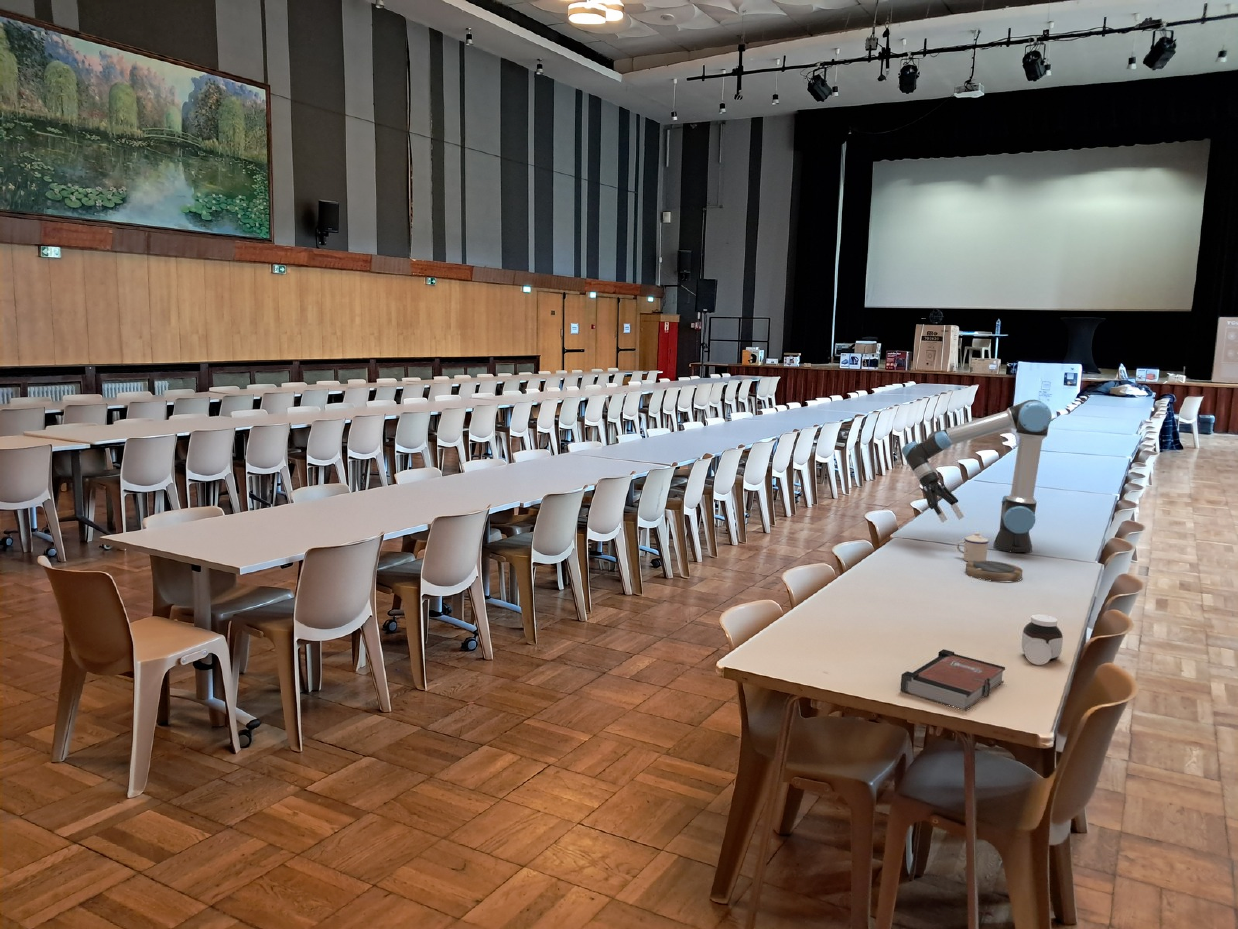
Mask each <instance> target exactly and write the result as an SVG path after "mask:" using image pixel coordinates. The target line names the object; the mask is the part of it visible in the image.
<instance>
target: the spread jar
mask: <svg viewBox="0 0 1238 929" xmlns="http://www.w3.org/2000/svg"><path fill="white" fill-rule="evenodd" d="M1058 621H1059V620H1058V619H1057V618H1056V617H1054V616H1050V615H1047V614H1033V615H1031V616H1030V622H1029V623H1027V624H1026V625H1025V626H1024V628H1023V630H1022V633H1021V649H1022V651H1023V653H1024V655H1025V656H1024V657H1025V658H1026V659H1027V660H1028V661H1029V662H1030V663H1032V664H1033V665H1036V666H1037V665H1038V666H1041V665H1042V666H1043V665H1044V664H1047V663H1048V661H1050V662H1053V661H1055V660H1057V659H1059V657H1060V656H1061V655H1062V651H1063V650H1062V649H1063V643H1064V642H1063V640H1064V639H1063V636H1064V635H1063V632H1062V630H1061V629H1060V628H1059V627H1058Z"/></svg>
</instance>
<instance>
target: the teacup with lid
mask: <svg viewBox="0 0 1238 929" xmlns="http://www.w3.org/2000/svg"><path fill="white" fill-rule="evenodd" d="M960 544H964V547H963V548H964V549H963V551H962V550H961V549H960ZM988 545H989V539H988V538H986V537H984V536H983V535H981V534H980V532H978V531H976V532H974V534H971V535H969V536H968V535H967V536H965V537H964V540H960V541H957V544H956V549H957V552H959V553H960V554H963V560H964V561H965V562H967V561H968V562H971V561H987V557H988V556H987V555H988ZM968 562H967V563H968Z"/></svg>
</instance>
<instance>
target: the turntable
mask: <svg viewBox="0 0 1238 929" xmlns="http://www.w3.org/2000/svg"><path fill="white" fill-rule="evenodd" d="M1023 571H1024V570H1023V569H1022V568H1021V567H1019V566H1018V565H1014V564H1010V563H1006V562H1000V561H996V560H995V561H993V560H986V561H971V562H967V563H966V564H965V571H964V572H965V574H966V575H968V576H969V575H970V576H969V577H971V576H972V578H975V579H977V578H981V579H985V580H984V581H986V580H991V581H990V582H993V581H1017V582H1019V581H1018V580H1020V579H1021V578H1022V579H1023V573H1024V572H1023ZM981 579H980V580H981ZM1022 579H1021V580H1022ZM1021 580H1020V581H1021Z"/></svg>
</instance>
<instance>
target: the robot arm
mask: <svg viewBox="0 0 1238 929" xmlns="http://www.w3.org/2000/svg"><path fill="white" fill-rule="evenodd" d="M1052 418H1053V417H1052V411H1051V409H1050V407H1049V406H1048V405H1047V404H1046V403H1044V402H1042V401H1040V400H1038V399H1028V400H1025V401H1022V402H1020V403H1018V404H1016V405H1013V406H1010V407H1008V408H1007V409H1006V410H1005V411H1001V412H999V413H994V414H991V415H988V416H985V417H981V418H977V419H973V420H971V421H967V422H964V423H961V424H957V425H954V426H951V427H948V428H945V429H941V430H935V431H932V432H930V433H929V434H928V436H927V438H926V439H924V440H923V441H922V442H920V443H918V442H917V441H911V442H909V443H906V445H904V446H903V447H902V449H901V453H902V455H903V457H904V459H905V460H906V462H907V464H908V466H909V467H910V468H911V470H912V472H913V473H914V475H915V477H916V478H917V480H919V481H918V482H919V483H920V485H921V487H922V491H923V493H924V496H925V499H926V502H927V505H928V508H930V510H933V511H935V513H936V515H937V516H938V518H939V520H940V522H941V523H944V522H947V520H948V519H949V518H948V516H947V515H946V513H945V511H944V510H943V508H942V506H941V505H939V502H938V500H939V499H938V497H941V498H942V499H943V500H944V501H945V502H946V503H948V504H949V505H950V508H951V510H952V511H953V513H954V514H955V516H956V517H957V519H958V520H961V519H963V518H964V517H965V514H964V512H963V511H962V510H961V508H960V506H959V505H958V503H959V499H958V498H957V497H956V496H955V495H954V494H953V493H952V491H951V490H949V488H947V486H946V485H945V483H941V484H940V483H939V481H940V476H938V474H937V472H935V469H934V467H933V466H932V464H931V463H930V461H929V459H931V458H933V457H934V456H936V455H938V454H940V453H941V452H942V451H945V450H947V449H948V448H950V447H952V446H953V445H958V444H960V443H961V444H962V443H964V442H967V441H971V440H975V439H978V438H979V439H980V438H982V437H984V436H988V435H992V434H995V433H999V432H1003V431H1005V430H1010V429H1014V430H1016V431H1015V433H1016V434H1017V436H1018V437H1019V438H1018V445H1017V451H1016V457H1015V466H1014V471H1013V478H1012V484H1011V490H1010V491H1011V492H1010V494H1009V495H1004V496H1003V497H1002V499H1001V509H1000V510H1001V512H1000V522H999V529H998V532H997V535H996V537H995V540H994V541H993V548H994V549H995V550H998V549H999V551H1001V550H1003V551H1002V552H1006V551H1011V552H1010V553H1013V552H1029V553H1031V552H1030V551H1032V552H1033V544H1032V539H1031V536H1030V531H1031V530H1032V529H1033V527H1035V524H1036V519H1037V518H1036V515H1035V514H1036V511H1037V510H1036V509H1037V508H1036V507H1037V502H1038V501H1037V500H1035V497H1034V495H1035V490H1036V483H1037V475H1038V470H1039V463H1040V458H1041V452H1042V451H1041V450H1042V444H1043V440H1044V439H1045V438H1046V437H1048V431H1049V427H1050V424H1051V422H1052V420H1053V419H1052Z"/></svg>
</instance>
